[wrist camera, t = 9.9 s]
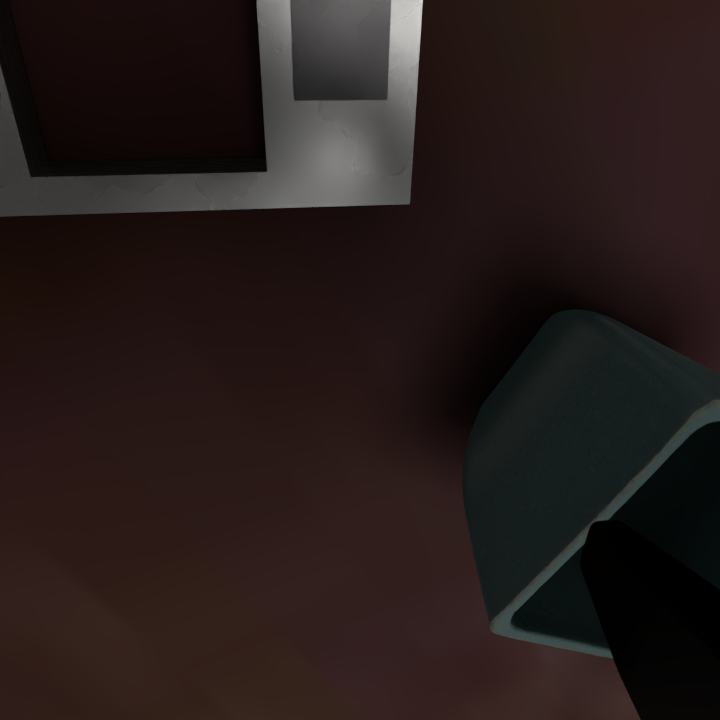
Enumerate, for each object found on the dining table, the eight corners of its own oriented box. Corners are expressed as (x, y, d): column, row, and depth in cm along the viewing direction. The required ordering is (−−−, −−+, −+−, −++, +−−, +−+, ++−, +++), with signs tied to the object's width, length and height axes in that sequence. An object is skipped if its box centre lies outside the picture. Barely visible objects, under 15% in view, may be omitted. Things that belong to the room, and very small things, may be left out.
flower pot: (572, 489, 27) (694, 681, 20) (410, 432, 24) (483, 637, 17) (710, 335, 24) (923, 499, 16) (543, 243, 21) (713, 396, 13)
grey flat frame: (-96, 201, 17) (-127, 221, 15) (-244, -181, 12) (-308, -202, 11) (398, 188, 19) (410, 205, 17) (416, -146, 14) (434, -160, 13)
